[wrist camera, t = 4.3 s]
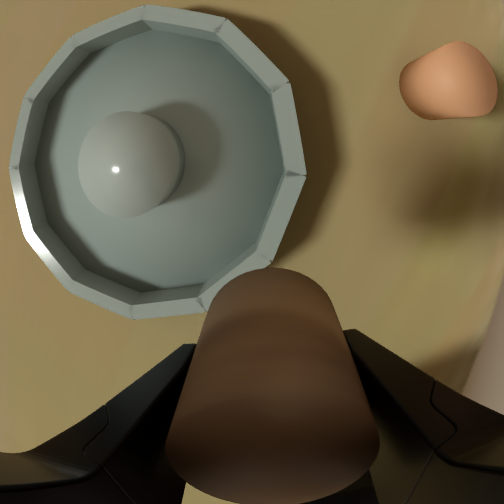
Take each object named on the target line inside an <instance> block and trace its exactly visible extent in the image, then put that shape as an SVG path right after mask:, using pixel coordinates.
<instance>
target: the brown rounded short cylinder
mask: <svg viewBox="0 0 504 504" xmlns="http://www.w3.org/2000/svg"><path fill="white" fill-rule="evenodd" d="M379 448H380V437H379V434H378V430H377V427H376V424H375V421H374V418H373V415H372V412H371V409H370V406H369V403H368V400H367V397H366V394H365V391H364V388H363V386H362V383H361V380H360V377H359V374H358V371H357V369H356V366H355V363H354V360H353V357H352V355H351V352H350V349H349V346H348V344H347V341H346V338H345V336H344V333H343V330H342V328H341V325H340V322H339V320H338V317H337V315H336V312H335V309H334V307H333V304H332V302H331V300H330V298H329V296H328V295H327V293H326V292H325V291H324V290H323V288H322V287H321V286H320V285H318V284H317V283H316V282H315V281H313V280H312V279H310V278H309V277H307V276H305V275H303V274H301V273H298V272H295V271H292V270H288V269H283V268H262V269H256V270H252V271H249V272H246V273H243V274H241V275H239V276H237V277H235V278H234V279H232V280H230V281H229V282H228V283H226V284H225V285H224V286H223V287H222V288H221V289H220V290H219V291H218V292H217V294H216V295H215V297H214V298H213V300H212V302H211V304H210V307H209V309H208V312H207V315H206V318H205V321H204V324H203V327H202V330H201V333H200V336H199V339H198V342H197V346H196V349H195V352H194V355H193V358H192V361H191V364H190V367H189V370H188V373H187V376H186V379H185V382H184V385H183V389H182V392H181V395H180V398H179V401H178V404H177V407H176V411H175V414H174V417H173V420H172V423H171V427H170V430H169V433H168V436H167V440H166V443H165V451H166V456H167V459H168V461H169V463H170V465H171V466H172V468H173V469H174V471H175V472H176V473H177V474H178V475H179V476H180V477H181V478H182V479H183V480H185V481H186V482H187V483H189V484H190V485H192V486H193V487H195V488H196V489H198V490H200V491H202V492H204V493H206V494H209V495H211V496H214V497H216V498H219V499H222V500H226V501H230V502H234V503H239V504H300V503H305V502H309V501H313V500H317V499H320V498H323V497H326V496H329V495H331V494H334V493H336V492H338V491H340V490H342V489H344V488H346V487H347V486H349V485H351V484H352V483H354V482H355V481H356V480H358V479H359V478H360V477H361V476H362V475H364V474H365V473H366V472H367V471H368V469H369V468H370V467H371V466H372V464H373V463H374V461H375V460H376V458H377V455H378V452H379Z"/></svg>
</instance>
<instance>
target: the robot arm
mask: <svg viewBox="0 0 504 504" xmlns="http://www.w3.org/2000/svg"><path fill="white" fill-rule="evenodd" d="M343 333H344V336H345V338H346V341H347V344H348V346H349V349H350V352H351V355H352V357H353V360H354V363H355V366H356V369H357V371H358V374H359V377H360V380H361V383H362V386H363V388H364V391H365V394H366V397H367V400H368V403H369V406H370V409H371V412H372V415H373V418H374V421H375V424H376V427H377V430H378V434H379V437H380V448H379V452H378V455H377V458H376V460H375V461H374V463H373V464H372V466H371V467H370V468H369V469H368V471H367V472H366V473H365V474H364V475H362V476H361V477H360V478H359V479H358V480H356V481H355V482H354V483H352V484H351V485H349V486H347V487H346V488H344V489H342V490H340V491H338V492H336V493H334V494H331V495H329V496H326V497H323V498H320V499H317V500H313V501H309V502H305V503H300V504H504V415H502V414H500V413H498V412H496V411H494V410H491V409H489V408H487V407H485V406H483V405H480V404H479V403H477V402H475V401H473V400H471V399H469V398H467V397H465V396H463V395H461V394H459V393H457V392H456V391H454V390H452V389H451V388H449V387H447V386H446V385H444V384H442V383H441V382H439V381H438V380H436V381H435V379H434V378H433V377H431V376H429V375H428V374H426V373H425V372H423V371H421V370H420V369H418V368H417V367H415V366H413V365H412V364H410V363H409V362H407V361H406V360H404V359H402V358H401V357H399V356H398V355H396V354H394V353H393V352H391V351H390V350H388V349H387V348H385V347H383V346H382V345H380V344H379V343H377V342H375V341H374V340H372V339H371V338H369V337H368V336H366V335H364V334H363V333H361V332H360V331H358V330H356V329H349V330H343ZM196 346H197V344H183V345H182V346H180V347H179V348H178V349H177V350H175V351H174V352H173V353H171V354H170V355H169V356H168V357H166V358H165V359H164V360H162V361H161V362H160V363H158V364H157V365H156V366H155V367H153V368H152V369H151V370H149V371H148V372H147V373H145V374H144V375H143V376H141V377H140V378H139V379H137V380H136V381H135V382H134V383H132V384H131V385H130V386H128V387H127V388H126V389H124V390H123V391H122V392H120V393H119V394H118V395H116V396H115V397H114V398H112V399H111V400H109V401H108V402H107V403H106V405H103V406H101V407H100V408H99V409H97V410H96V411H94V412H93V413H92V414H90V415H89V416H87V417H86V418H84V419H83V420H82V421H80V422H78V423H77V424H75V425H74V426H72V427H70V428H69V429H67V430H65V431H64V432H62V433H60V434H58V435H57V436H55V437H53V438H51V439H50V440H48V441H46V442H44V443H43V444H41V445H39V446H37V447H36V448H34V449H32V450H29V451H26V452H21V453H3V452H0V504H181V503H182V498H183V494H184V489H185V485H186V481H185V480H183V479H182V478H181V477H180V476H179V475H178V474H177V473H176V472H175V471H174V469H173V468H172V466H171V465H170V463H169V461H168V459H167V456H166V451H165V443H166V440H167V436H168V433H169V430H170V427H171V423H172V420H173V417H174V414H175V411H176V407H177V404H178V401H179V398H180V395H181V392H182V389H183V385H184V382H185V379H186V376H187V373H188V370H189V367H190V364H191V361H192V358H193V355H194V352H195V349H196Z"/></svg>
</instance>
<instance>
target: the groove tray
mask: <svg viewBox="0 0 504 504" xmlns="http://www.w3.org/2000/svg"><path fill="white" fill-rule="evenodd" d="M25 96H26V97H24V98H23V102H22V106H21V109H20V113H19V117H18V122H17V126H16V131H15V135H14V140H13V145H12V151H11V156H10V163H9V167H10V168H9V173H10V178H11V183H12V188H13V193H14V197H15V202H16V206H17V210H18V214H19V218H20V222H21V226H22V229H23V233H24V236H26V240H27V241H28V242H29V244H30V245H31V246H32V248H33V249H34V250H35V252H36V253H37V254H38V255H39V257H40V258H41V259H42V261H43V262H44V263H45V264H46V266H47V267H48V268H49V269H50V270H51V272H52V273H53V274H54V275H55V277H56V278H57V279H58V280H59V281H60V282H61V284H62V285H63V286H64V287H65V288H66V289H67V291H68V290H69V292H70V293H72V294H75V295H77V296H79V297H81V298H83V299H85V300H88V301H90V302H92V303H94V304H96V305H99V306H101V307H103V308H105V309H108V310H110V311H112V312H115V313H117V314H119V315H122V316H124V317H127V318H129V319H132V318H133V320H136V319H147V318H158V317H167V316H177V315H186V314H195V313H204V312H205V311H208V309H209V307H210V304H211V302H212V300H213V298H214V297H215V295H216V294H217V292H218V291H219V290H220V289H221V288H222V287H223V286H224V285H225V284H226V283H228V282H229V281H230V280H232V279H234V278H235V277H237V276H239V275H241V274H243V273H246V272H249V271H252V270H256V269H262V268H265V267H267V266H268V265H269V264H271V261H273V259H274V257H275V254H276V252H277V249H278V247H279V244H280V242H281V240H282V237H283V235H284V232H285V230H286V227H287V225H288V222H289V220H290V217H291V215H292V212H293V210H294V207H295V205H296V202H297V200H298V197H299V195H300V192H301V189H302V187H303V184H304V182H305V179H306V176H304V175H307V173H306V167H305V161H304V155H303V148H302V143H301V137H300V131H299V125H298V120H297V115H296V109H295V104H294V99H293V94H292V89H291V84H290V83H289V80H288V79H287V78H286V77H285V76H284V75H283V73H282V72H281V71H280V70H279V69H278V68H277V67H276V66H275V65H274V64H273V63H272V62H271V61H270V60H269V59H268V58H267V57H266V56H265V54H264V53H263V52H262V51H261V50H260V49H259V48H258V47H257V46H256V45H255V44H254V43H253V42H252V41H251V40H250V39H249V38H247V37H246V36H245V35H244V34H243V33H242V32H241V31H240V30H239V29H238V28H237V27H236V26H235V25H234V24H233V23H232V22H231V21H229V20H228V19H227V20H226V18H224V17H219V16H215V15H210V14H205V13H200V12H195V11H189V10H183V9H177V8H170V7H163V6H155V5H142V6H139V7H136V8H133V9H131V10H128V11H125V12H123V13H120V14H118V15H115V16H113V17H111V18H108V19H106V20H104V21H101V22H99V23H97V24H95V25H92V26H90V27H88V28H86V29H84V30H82V31H80V32H78V33H76V34H74V35H73V37H72V36H71V37H70V38H69V39H68V40H67V41H66V42H65V44H64V45H63V46H62V47H61V48H60V49H59V51H58V52H57V53H56V54H55V55H54V57H53V58H52V59H51V60H50V62H49V63H48V64H47V65H46V67H45V68H44V69H43V70H42V72H41V73H40V74H39V76H38V77H37V78H36V80H35V81H34V83H33V84H32V85H31V87H30V88H29V90H28V91H27V92H26V94H25Z"/></svg>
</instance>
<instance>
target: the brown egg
mask: <svg viewBox="0 0 504 504" xmlns="http://www.w3.org/2000/svg"><path fill="white" fill-rule="evenodd" d="M399 86H400V91H401V95H402V97H403V99H404V101H405V103H406V105H407V106H408V107H409V108H410V110H411V111H412V112H414V113H415V114H416V115H418V116H419V117H421V118H424V119H428V120H437V119H448V118H460V117H475V116H484V115H486V114H488V113H489V112H490V111H491V110H492V109H493V107H494V106H495V103H496V100H497V95H498V87H497V81H496V77H495V74H494V71H493V69H492V67H491V65H490V63H489V62H488V60H487V59H486V58H485V56H484V55H483V54H482V53H481V52H480V51H479V50H478V49H477V48H475V47H474V46H472V45H470V44H468V43H465V42H461V41H454V42H451V43H449V44H446V45H444V46H442V47H440V48H438V49H436V50H434V51H432V52H430V53H428V54H426V55H424V56H422V57H420V58H418V59H416V60H414V61H412V62H410V63H408V64H407V65H406V66H405V67H404V68H403V70H402V72H401V74H400V80H399Z"/></svg>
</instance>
